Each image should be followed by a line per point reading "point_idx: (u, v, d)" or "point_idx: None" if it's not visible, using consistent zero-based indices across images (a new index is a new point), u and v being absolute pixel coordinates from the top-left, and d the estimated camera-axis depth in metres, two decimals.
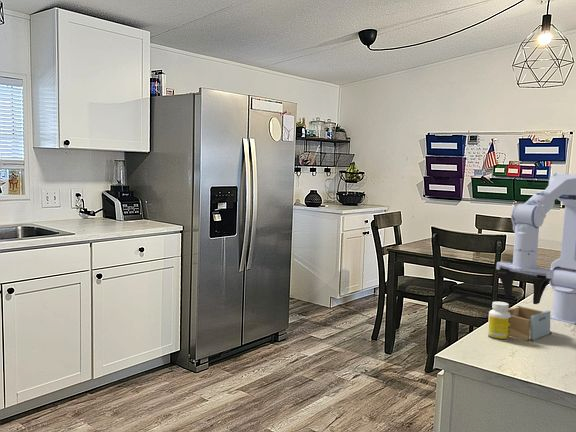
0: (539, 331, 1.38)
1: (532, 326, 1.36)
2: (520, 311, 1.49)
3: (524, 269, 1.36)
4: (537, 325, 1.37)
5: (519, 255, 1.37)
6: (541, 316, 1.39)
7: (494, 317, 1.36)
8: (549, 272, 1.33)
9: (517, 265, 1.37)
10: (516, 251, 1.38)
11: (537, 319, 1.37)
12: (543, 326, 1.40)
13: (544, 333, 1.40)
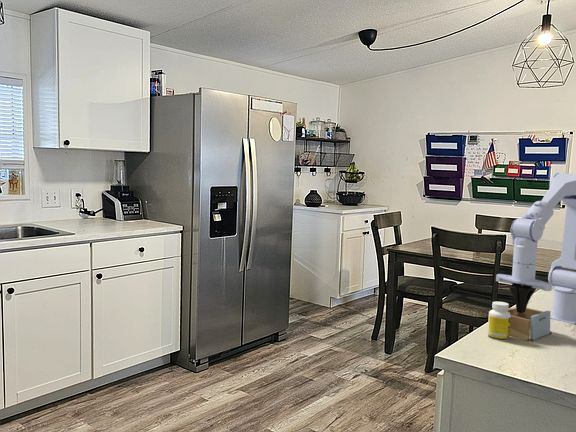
0: (539, 331, 1.38)
1: (532, 326, 1.36)
2: None
3: (523, 282, 1.40)
4: (537, 325, 1.37)
5: (518, 268, 1.40)
6: (541, 316, 1.39)
7: (494, 317, 1.36)
8: (547, 285, 1.36)
9: (516, 278, 1.41)
10: (515, 264, 1.41)
11: (537, 319, 1.37)
12: (543, 326, 1.40)
13: (544, 333, 1.40)
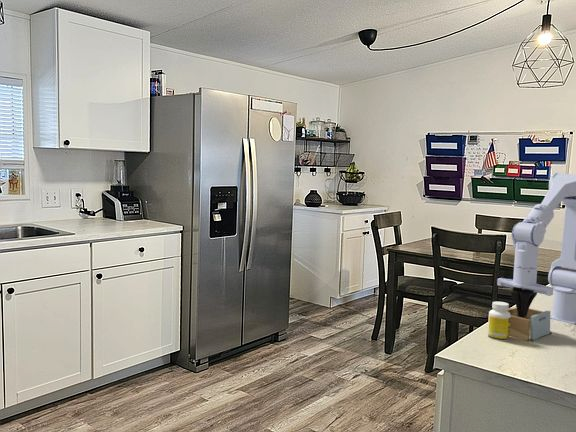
0: (539, 331, 1.38)
1: (532, 326, 1.36)
2: None
3: (524, 286, 1.39)
4: (537, 325, 1.37)
5: (519, 273, 1.40)
6: (541, 316, 1.39)
7: (494, 317, 1.36)
8: (549, 289, 1.36)
9: (517, 282, 1.41)
10: (516, 268, 1.41)
11: (537, 319, 1.37)
12: (543, 326, 1.40)
13: (544, 333, 1.40)
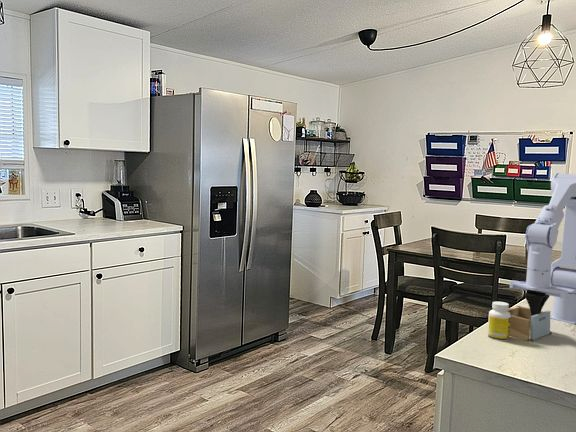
0: (539, 331, 1.38)
1: (532, 326, 1.36)
2: (520, 311, 1.49)
3: (538, 289, 1.37)
4: (537, 325, 1.37)
5: (533, 275, 1.37)
6: (541, 316, 1.39)
7: (494, 317, 1.36)
8: (563, 292, 1.33)
9: (531, 284, 1.38)
10: (530, 271, 1.38)
11: (537, 319, 1.37)
12: (543, 326, 1.40)
13: (544, 333, 1.40)
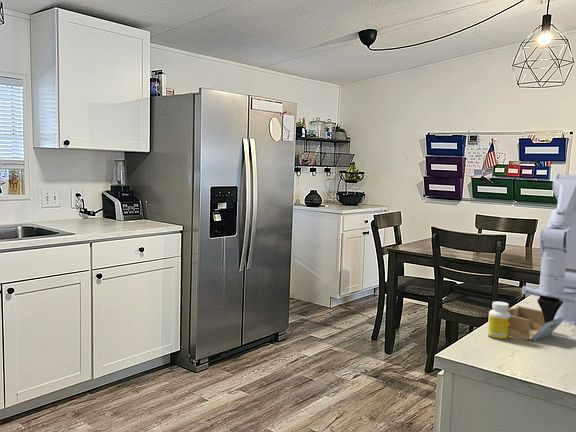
0: (543, 334, 1.37)
1: (541, 331, 1.35)
2: (520, 311, 1.49)
3: (551, 295, 1.34)
4: (545, 330, 1.36)
5: (546, 280, 1.35)
6: (554, 324, 1.36)
7: (494, 317, 1.36)
8: None
9: (544, 290, 1.35)
10: (543, 276, 1.35)
11: (549, 326, 1.35)
12: (549, 330, 1.38)
13: (545, 335, 1.40)
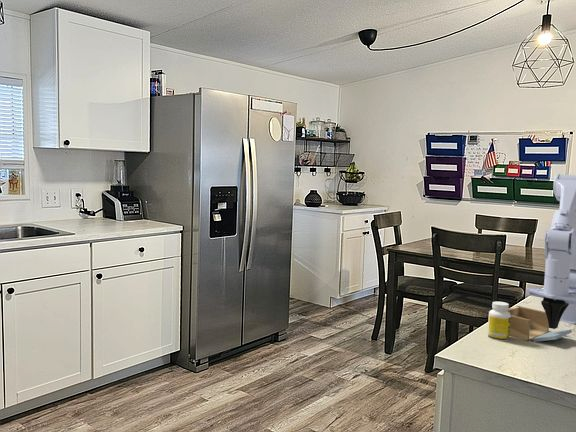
0: None
1: (545, 339, 1.34)
2: (520, 311, 1.49)
3: (556, 297, 1.33)
4: None
5: (551, 282, 1.34)
6: None
7: (494, 317, 1.36)
8: None
9: (549, 292, 1.34)
10: (548, 278, 1.35)
11: None
12: None
13: None
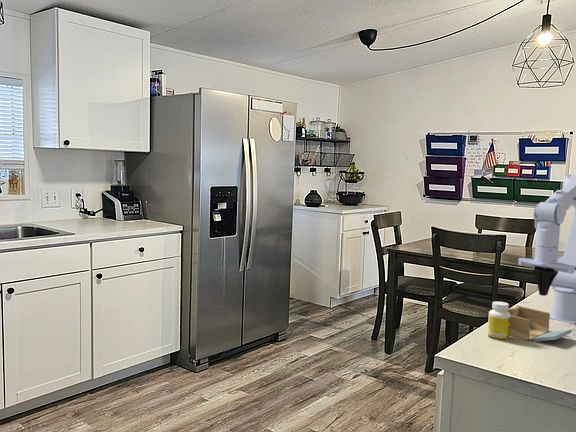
0: None
1: (545, 339, 1.34)
2: (520, 311, 1.49)
3: (546, 265, 1.42)
4: None
5: (541, 251, 1.42)
6: None
7: (494, 317, 1.36)
8: (570, 267, 1.38)
9: (539, 261, 1.43)
10: (538, 247, 1.43)
11: None
12: None
13: None
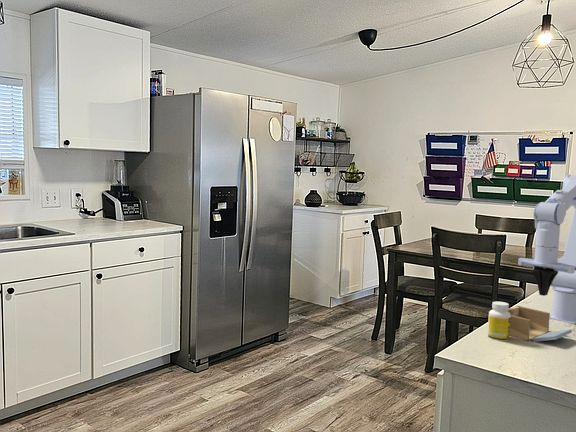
0: None
1: (545, 339, 1.34)
2: (520, 311, 1.49)
3: (546, 265, 1.42)
4: None
5: (541, 251, 1.42)
6: None
7: (494, 317, 1.36)
8: (570, 267, 1.38)
9: (539, 261, 1.43)
10: (538, 247, 1.43)
11: None
12: None
13: None
